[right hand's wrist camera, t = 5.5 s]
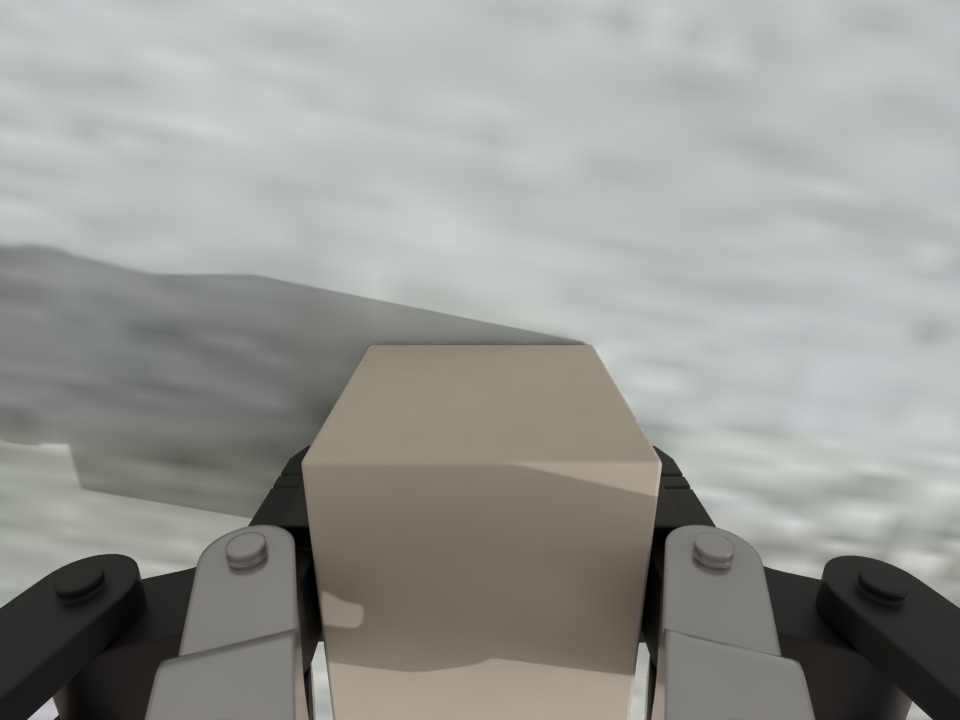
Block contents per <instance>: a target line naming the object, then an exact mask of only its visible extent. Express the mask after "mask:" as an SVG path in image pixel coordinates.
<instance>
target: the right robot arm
mask: <svg viewBox="0 0 960 720" xmlns="http://www.w3.org/2000/svg"><path fill="white" fill-rule="evenodd" d="M310 447H311V446H307V447H306V448H304V449H303V450H302V451H300V452H299V453H297V454H296V455H295V456H293V457H292V458H290V460H289V462H288V463H287V465H286V466H285V468H284V470H283V471H282V473H281V476H279V478H278V479H277V481H276V482H275V484H274V487H273V489H271V490H270V492H269V494H268V495H267V497H266V498H265V500H264V502H263V503H262V505H261V506H260V508H259V510H258V511H257V513H256V514H255V516H254V518H253V519H252V521H251V522H250V524H249V526H248V527H244V528H240V529H237V530H234V531H232V532H229V533H227V534H225V535H223V536H221V537H220V538H218V539H217V540H215V541H214V542H212V543H211V544H210V545H209V546H208V547H207V548H206V549H205V550H204V551H203V552H202V554H201V556H200V557H199V560H198V563H197V567H194V568H191V569H187V570H183V571H179V572H174V573H169V574H165V575H160V576H155V577H151V578H146V579H142V580H141V576H140V572H139V568H138V565H137V563H136V562H135V561H134V560H133V559H132V558H130V557H128V556H125V555H119V554H104V555H97V556H92V557H88V558H84V559H81V560H78V561H75V562H73V563H70V564H68V565H66V566H63V567H61V568H59V569H57V570H56V571H54V572H52V573H50V574H49V575H47V576H46V577H44V578H43V579H41V580H40V581H39V582H37V583H36V584H34V585H33V586H31V587H30V588H29V589H27V590H26V591H24V592H23V593H21V594H20V595H19V596H17V597H16V598H14V599H13V600H12V601H10V602H9V603H7V604H6V605H4V606H3V607H2V608H0V720H27V719H28V718H29V717H31V716H32V715H33V714H34V713H35V712H36V711H37V710H38V709H39V708H40V707H41V706H43V705H44V704H45V703H46V702H47V701H48V700H49V699H50V698H51V697H53V700H54V702H55V705H56V708H57V711H58V713H59V715H58V716H57V717H56V718H55V719H54V720H316V716H315V700H314V683H313V672H312V664H311V662H312V659H313V656H314V653H315V650H316V647H317V644H318V642H324V640H323V632H322V624H321V616H320V608H319V600H318V592H317V584H316V576H315V568H314V560H313V552H312V544H311V536H310V528H309V520H308V512H307V504H306V497H305V489H304V481H303V473H302V465H301V463H302V461H303V459H304V457H305V455H306V454H307V452H308V450H309V448H310ZM653 448H654V450H655V451H656V453H657V455H658V457H659V458H660V460H661V463H662V468H661V476H660V483H659V491H658V499H657V507H656V514H655V522H654V530H653V538H652V546H651V553H650V561H649V569H648V577H647V584H646V592H645V600H644V608H643V616H642V623H641V631H640V639H639V642H642V643H646V645H647V648H648V650H649V653H650V657H649V664H648V672H647V683H646V700H645V717H644V720H906V717H907V714H908V711H909V709H910V706H911V703H912V701H913V702H914V703H915V704H916V705H917V706H919V707H920V708H921V709H922V710H923V711H924V712H925V713H926V714H927V715H928V716H929V717H931V718H932V719H933V720H960V608H958V607H957V606H956V605H954V604H953V603H951V602H950V601H948V600H947V599H946V598H944V597H943V596H941V595H940V594H939V593H937V592H936V591H934V590H933V589H931V588H930V587H929V586H927V585H926V584H924V583H923V582H922V581H920V580H919V579H917V578H916V577H914V576H912V575H911V574H909V573H907V572H905V571H904V570H902V569H900V568H897V567H895V566H893V565H891V564H888V563H885V562H882V561H879V560H876V559H872V558H867V557H862V556H840V557H836V558H833V559H832V560H830V561H828V562H827V564H826V565H825V567H824V571H823V574H822V578H821V580H819V579H814V578H810V577H805V576H800V575H796V574H791V573H786V572H782V571H778V570H774V569H771V568H768V567H765V566H763V563H762V560H761V557H760V556H759V554H758V552H757V551H756V550H755V549H754V548H753V547H752V546H751V545H750V544H749V543H748V542H746V541H745V540H743V539H742V538H740V537H739V536H737V535H735V534H733V533H731V532H728V531H726V530H723V529H720V528H716V526H715V525H714V523H713V521H712V520H711V518H710V517H709V515H708V514H707V512H706V510H705V509H704V507H703V506H702V504H701V503H700V501H699V499H698V498H697V496H696V495H695V493H694V491H693V490H692V489H690V485H689V484H688V482H687V480H686V479H685V477H682V473H681V471H680V469H679V468H678V466H677V465H676V463H675V461H674V460H673V459H672V458H671V457H669V456H668V455H667V454H665V453H664V452H662V451H661V450H660V449H658V448H657V447H655V446H653Z"/></svg>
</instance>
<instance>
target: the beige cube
mask: <svg viewBox="0 0 960 720" xmlns="http://www.w3.org/2000/svg"><path fill="white" fill-rule="evenodd" d="M301 465H302V473H303V481H304V489H305V497H306V504H307V512H308V520H309V528H310V536H311V544H312V552H313V560H314V568H315V576H316V584H317V592H318V600H319V608H320V616H321V624H322V632H323V640H324V648H325V656H326V664H327V672H328V680H329V688H330V696H331V704H332V712H333V720H629V717H630V709H631V701H632V693H633V686H634V678H635V670H636V662H637V654H638V647H639V639H640V631H641V623H642V616H643V608H644V600H645V592H646V584H647V577H648V569H649V561H650V553H651V546H652V538H653V530H654V522H655V514H656V507H657V499H658V491H659V483H660V476H661V468H662V463H661V460H660V458H659V457H658V455H657V453H656V451H655V450H654V448H653V446H652V445H651V443H650V441H649V440H648V438H647V436H646V435H645V433H644V431H643V430H642V428H641V426H640V424H639V423H638V421H637V419H636V418H635V416H634V414H633V413H632V411H631V409H630V408H629V406H628V404H627V403H626V401H625V399H624V397H623V396H622V394H621V392H620V391H619V389H618V387H617V386H616V384H615V382H614V381H613V379H612V377H611V376H610V374H609V372H608V370H607V369H606V367H605V365H604V364H603V362H602V360H601V359H600V357H599V355H598V354H597V352H596V350H595V349H594V347H593V346H592V345H370V346H369V347H368V349H367V351H366V352H365V354H364V356H363V358H362V359H361V361H360V363H359V364H358V366H357V368H356V370H355V371H354V373H353V375H352V376H351V378H350V380H349V382H348V383H347V385H346V387H345V388H344V390H343V392H342V394H341V395H340V397H339V399H338V400H337V402H336V404H335V406H334V407H333V409H332V411H331V412H330V414H329V416H328V418H327V419H326V421H325V423H324V424H323V426H322V428H321V430H320V431H319V433H318V435H317V436H316V438H315V440H314V442H313V443H312V445H311V447H310V448H309V450H308V452H307V454H306V455H305V457H304V459H303V461H302V463H301Z"/></svg>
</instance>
